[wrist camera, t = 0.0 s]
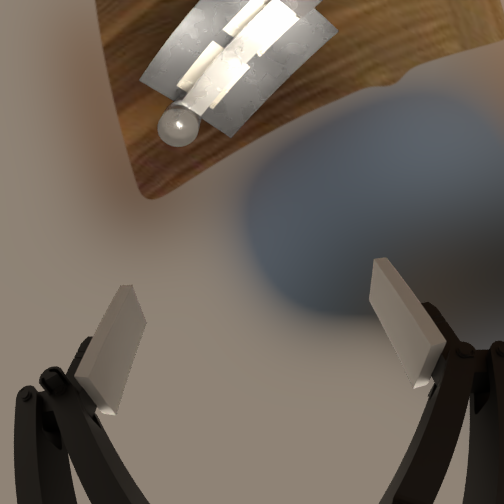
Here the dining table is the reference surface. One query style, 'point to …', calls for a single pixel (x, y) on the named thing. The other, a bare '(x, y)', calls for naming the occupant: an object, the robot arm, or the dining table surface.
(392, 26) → the dining table surface
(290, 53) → the grey slotted block
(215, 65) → the lever
